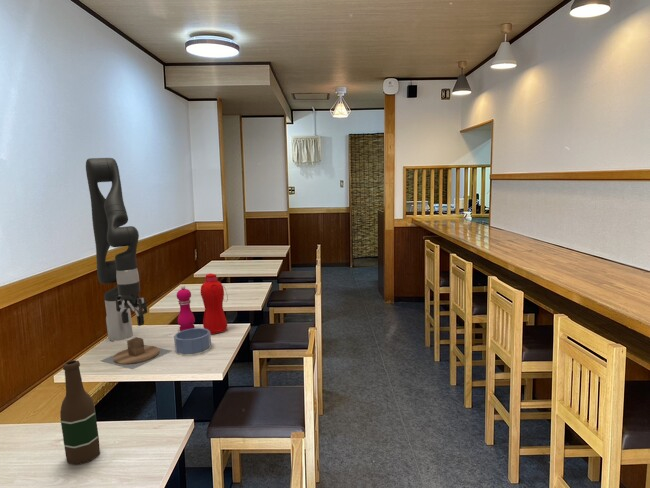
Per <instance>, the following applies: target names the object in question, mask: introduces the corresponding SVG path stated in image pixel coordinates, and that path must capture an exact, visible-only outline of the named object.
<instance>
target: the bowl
mask: <svg viewBox="0 0 650 488" xmlns="http://www.w3.org/2000/svg"><path fill="white" fill-rule="evenodd" d="M211 335H212V334H210V331H209V330H208V329H204V327H195V328H192V329H187V330H183V331H181V332H180V331H178V332H176V333H175V334H174V335H173V340H174V350H175V352H176V354H177V355H180V356H195V355H200V354H202V353H203V354H204V353H205V352H207V351H209V350H210V349H212V337H211Z"/></svg>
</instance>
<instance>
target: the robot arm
mask: <svg viewBox="0 0 650 488" xmlns="http://www.w3.org/2000/svg"><path fill="white" fill-rule="evenodd" d="M85 174H86V180H87V183H88V185H87V186H88V191H89V195H90V196H89V197H90V205H91V218H92V219H91V220H92V228H93V229H92V230H93V236H94V244H95V256H96V273H97V280H98V282H99V283H100V284H101V285H108V284H115V283H117V284H116V285H115V286H114V287H113V288H111V289H109V290H107V291H106V292H105V293H104V294H103V296H104V297H103V298H104V305H105V312H106V317H105V322H106V330H107V337H108V340H109V341H111V342H116V341H122V340H127V339H129V338H130V339H131V338H132V337H133V335H134V330H133V322H132V313H131V311H132V312H134V313H135V315H136V320H137V326H140V327H141V326H144V324H145V319H144V317H145V316H144V315H145V314H148V306H147V300H146V297H140V296H139V294H140V293H141V285H140V284H141V283H140V276H139V270H138V265H137V248H138V243H139V237H140V235H139V231H138V229H137V228H136V227H135V226H132V225H131V226H130V225H129V226H127V225H126V224H127V223H129V222H128V221H129V216H128V212H127V210H126V209H127V208H126V207H125V206H126V205H125V202H124V196H123V190H122V184H121V183H122V182H121V175H120V169H119V165H118V163H117V161H116V159H115V158H112V157H93V158H87V159H86V161H85ZM109 182H111V187H110V190H109V192H108V194H107V196H106V197H105V196H104V195H103V194H102V192H101V190H100V188H99V184H98V183H109ZM125 225H126V226H125ZM110 247H112V248H121V247H127V249H125V251H123V252H120V253H117V254H116V255H115V256H114V260H107V259H106V258H107V254H108V251H109V249H110ZM106 260H107V261H106Z"/></svg>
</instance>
